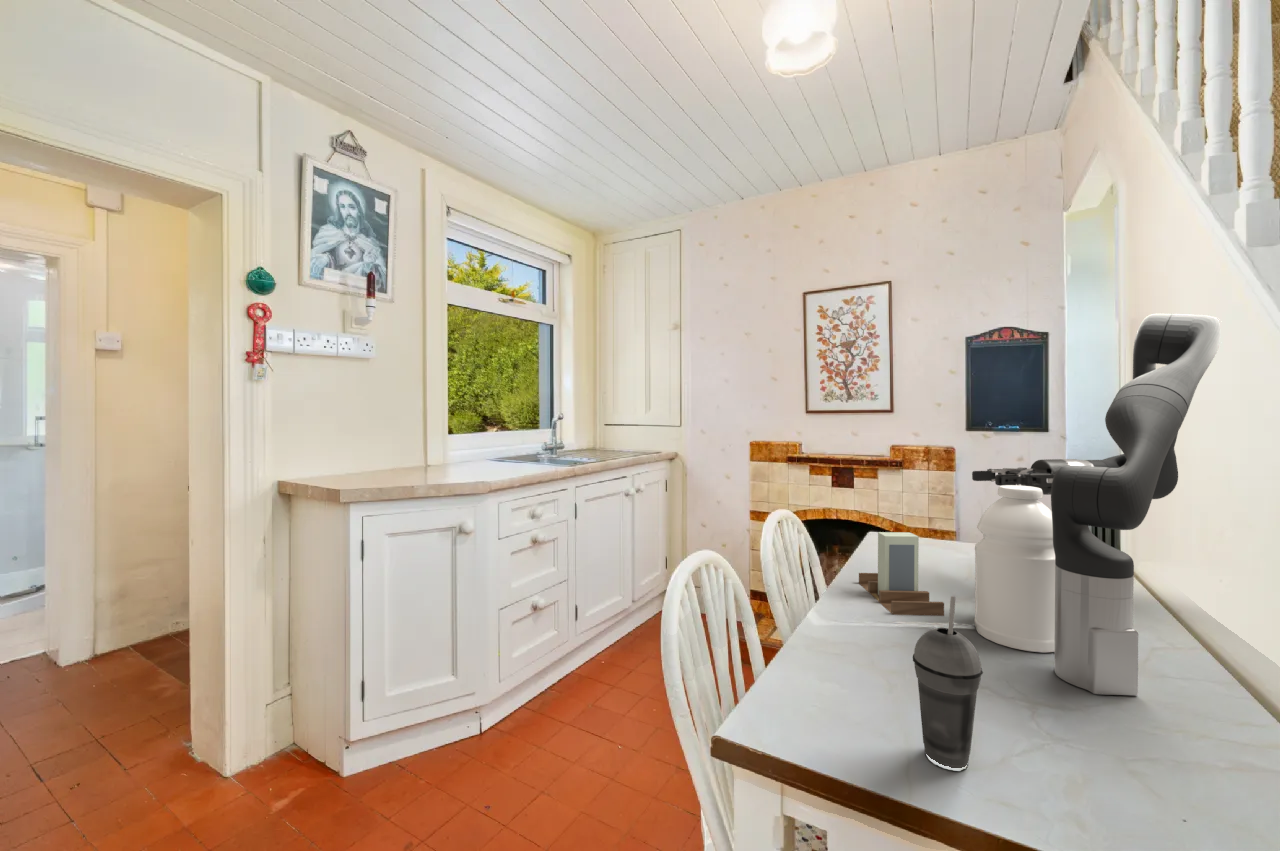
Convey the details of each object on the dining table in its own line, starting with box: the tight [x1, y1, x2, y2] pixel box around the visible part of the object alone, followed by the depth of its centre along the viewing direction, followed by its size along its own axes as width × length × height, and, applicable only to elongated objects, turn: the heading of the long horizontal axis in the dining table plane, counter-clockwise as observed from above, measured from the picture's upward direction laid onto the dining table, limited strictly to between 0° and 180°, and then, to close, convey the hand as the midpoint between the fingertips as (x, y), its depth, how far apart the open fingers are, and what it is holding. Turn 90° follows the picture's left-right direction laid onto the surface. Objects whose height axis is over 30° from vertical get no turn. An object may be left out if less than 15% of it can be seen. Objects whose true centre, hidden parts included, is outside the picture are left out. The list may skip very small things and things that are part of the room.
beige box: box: [877, 531, 920, 595], centre depth 116 cm, size 4×7×14 cm, turn 86°
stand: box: [858, 572, 945, 617], centre depth 116 cm, size 20×10×4 cm, turn 176°
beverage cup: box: [912, 595, 984, 768], centre depth 63 cm, size 7×7×20 cm
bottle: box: [973, 485, 1056, 653], centre depth 98 cm, size 14×14×28 cm
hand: (984, 478), depth 114 cm, fingers open, 8 cm apart
